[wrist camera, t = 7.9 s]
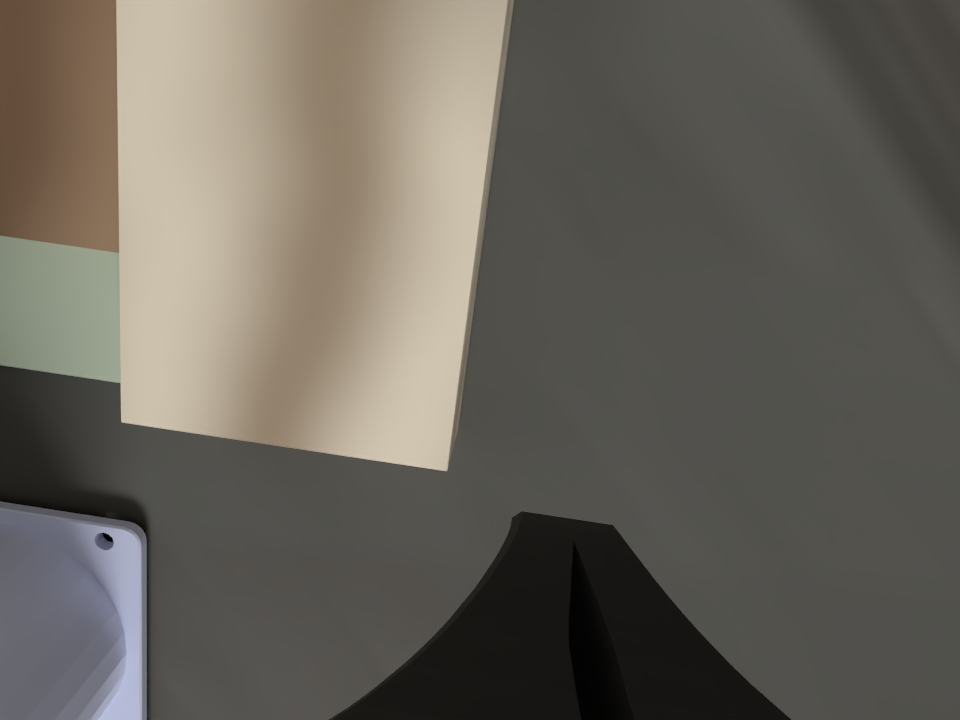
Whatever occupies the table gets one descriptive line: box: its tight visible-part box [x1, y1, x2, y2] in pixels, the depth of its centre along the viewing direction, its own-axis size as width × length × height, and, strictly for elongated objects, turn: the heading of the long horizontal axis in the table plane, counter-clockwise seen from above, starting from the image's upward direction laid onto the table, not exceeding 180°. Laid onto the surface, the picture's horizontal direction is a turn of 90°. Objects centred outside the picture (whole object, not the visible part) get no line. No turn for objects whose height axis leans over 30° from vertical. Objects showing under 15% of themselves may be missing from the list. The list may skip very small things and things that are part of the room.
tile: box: [0, 0, 119, 253], centre depth 17 cm, size 6×9×2 cm, turn 172°
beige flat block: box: [116, 0, 514, 471], centre depth 17 cm, size 8×16×2 cm, turn 173°
